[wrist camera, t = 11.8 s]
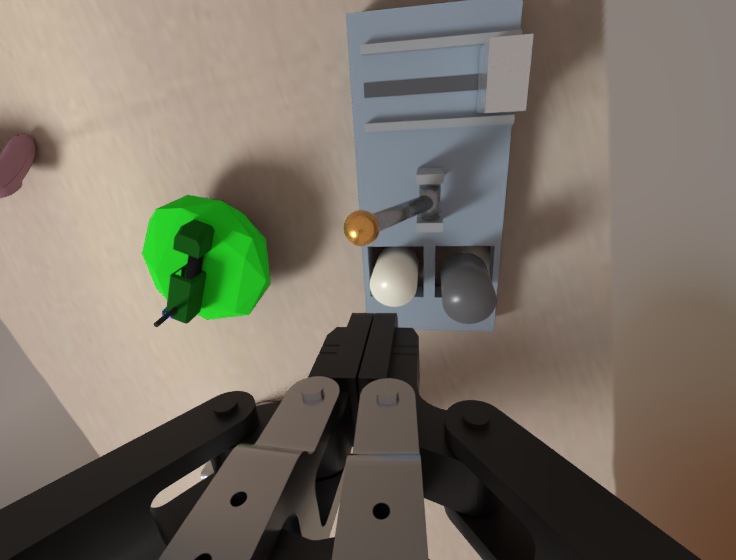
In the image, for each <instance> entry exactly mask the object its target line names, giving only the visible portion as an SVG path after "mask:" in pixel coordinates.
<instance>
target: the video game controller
mask: <svg viewBox="0 0 736 560" xmlns="http://www.w3.org/2000/svg"><path fill="white" fill-rule="evenodd" d="M34 156H35V144H34V140H33V139H32V138H31V137H30V136H28V135H26V134H18V135H16V136H14V137H13V138H12V139H10V140H9V141H8V143H7V144H6V146H5V148H4V149H3V151H2V153H1V154H0V198H3V197H7V196H9V195H12V194H13V193H15V192H16V191H18V190H19V189H20V188H21V186H22V180H23V179H24V177H25V176H26V174H27V173H28V171H29V169H30V167H31V165H32V162H33V160H34Z"/></svg>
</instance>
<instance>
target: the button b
mask: <svg viewBox="0 0 736 560" xmlns="http://www.w3.org/2000/svg"><path fill="white" fill-rule="evenodd" d="M441 289H442V304H443V308H444V310H445V312H446V314H447V315H448V316H449V317H450V318H451V319H453V320H454V321H457V322H459V323H463V324H474V323H478V322H481V321H483V320H485V319H486V318H488V317H489V316H490V315H491V314H492V312H493V311H494V309H495V307H496V303H497V297H496V293H495V290H494V287H493V284H492V281H491V279H490V276H489V273H488V270H487V267H486V265H485V263H484V261H483V260H482V259H481V258H480V257H478V256H476V255H474V254H471V253H458V254H455V255H453V256H451V257H450V258H449V259H447V260H446V261H445V263H444V264H443V266H442V269H441Z"/></svg>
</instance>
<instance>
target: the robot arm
mask: <svg viewBox="0 0 736 560" xmlns="http://www.w3.org/2000/svg"><path fill="white" fill-rule="evenodd" d="M419 377H420V373H419V336H418V335H417V333H416V332H415V330H414V329H413V328H400V327H398V316H397V313H375V314H374V313H352V315H351V317H350V320H349V323H348V325H347V327H337V328H335V329H334V330H333V331H332V332H331V333H329V334H328V335H327V337H326V339H325V341H324V343H323V346H322V348H321V350H320V352H319V354H318V357H317V359H316V361H315V363H314V365H313V367H312V370H311V372H310V374H309V376H308V378H306V379H303V380H300V381H299V382H297V383H295V384H294V385H293V386H292V387H291V388H290V389H289V390H288V392H287V393H286V395H285V397H284V398H283V400H281V401H278V402H262V403H259V404H255V400H254V398H253V396H252V395H250V394H249V393H247V392H243V391H232V392H227V393H224V394H221V395H218V396H216V397H214V398H212V399H210V400H208V401H207V402H205V403H203V404H201V405H199V406H197V407H195V408H193V409H191V410H189V411H187V412H186V413H184V414H182V415H180V416H178V417H176V418H174V419H172V420H170V421H168V422H166V423H165V424H163V425H161V426H159V427H157V428H155V429H153V430H151V431H149V432H147V433H145V434H144V435H142V436H140V437H138V438H136V439H134V440H132V441H130V442H128V443H126V444H124V445H123V446H121V447H119V448H117V449H115V450H113V451H111V452H109V453H107V454H105V455H103V456H101V457H100V458H98V459H96V460H94V461H92V462H90V463H88V464H86V465H84V466H82V467H81V468H79V469H77V470H75V471H73V472H71V473H69V474H67V475H65V476H63V477H62V478H60V479H58V480H56V481H54V482H52V483H50V484H48V485H46V486H44V487H42V488H41V489H38V490H37V491H35V492H33V493H31V494H29V495H27V496H25V497H23V498H21V499H20V500H17V501H16V502H14V503H12V504H10V505H8V506H6V507H4V508H3V509H0V560H430V559H428V548H427V535H426V521H425V508H424V498H426V499H428V500H431V501H433V502H436V503H438V504H440V505H443V506H444V508H445V511H446V514H447V516H448V517H449V519H450V520H451V522H452V523H453V524H454V525H455V526H456V528H457V529H458V530H459V531H460V532H461V534H462V535H463V536H464V537H465V539H466V540H467V541H468V542H469V543H470V545H471V546H472V547H473V548H474V549H475V551H476V552H477V553H478V554H479V555H480V557H481V558H482V559H483V560H701V559H700V558H698V557H697V556H696V555H694V554H693V553H692V552H690V551H689V550H688V549H686V548H685V547H684V546H682V545H681V544H679V543H678V542H677V541H675V540H674V539H673V538H671V537H670V536H669V535H667V534H666V533H665V532H663V531H662V530H661V529H659V528H658V527H657V526H655V525H654V524H652V523H651V522H650V521H648V520H647V519H646V518H644V517H643V516H642V515H640V514H639V513H638V512H636V511H635V510H634V509H632V508H631V507H630V506H628V505H627V504H625V503H624V502H623V501H621V500H620V499H619V498H617V497H616V496H615V495H613V494H612V493H611V492H609V491H608V490H607V489H605V488H604V487H603V486H601V485H600V484H599V483H597V482H596V481H595V480H593V479H592V478H590V477H589V476H588V475H586V474H585V473H584V472H582V471H581V470H580V469H578V468H577V467H576V466H574V465H573V464H572V463H570V462H569V461H568V460H566V459H565V458H564V457H562V456H561V455H559V454H558V453H557V452H555V451H554V450H553V449H551V448H550V447H549V446H547V445H546V444H545V443H543V442H542V441H541V440H539V439H538V438H537V437H535V436H534V435H532V434H531V433H530V432H528V431H527V430H526V429H524V428H523V427H522V426H520V425H519V424H518V423H516V422H515V421H514V420H512V419H511V418H510V417H508V416H507V415H506V414H504V413H503V412H501V411H500V410H499V409H497V408H496V407H494V406H492V405H490V404H488V403H485V402H482V401H476V400H466V401H461V402H458V403H455V404H453V405H452V406H451V407H450V408H448V410H443V409H440V408H437V407H434V406H432V405H430V404H429V403H427V402H426V401H424V400H423V399H422V398H421V396H420V395H419ZM352 447H353V454H350V453H351V448H352ZM206 462H207V463H206ZM205 463H206V465H205V467H204V468H203V470H202V472H201V479H202V481H200V482H199V483H197V484H196V485H194V486H193V487H191V488H189V489H188V490H186V491H185V492H183V493H182V494H180V495H179V496H177V497H176V498H174V499H173V500H171V501H169V502H168V503H166V504H165V505H163V506H160V507H157V508H152V507H151V503H152V501H153V499H154V498H155V497H156V495H157V494H158V493H159V492H161V491H162V490H163V489H165V488H166V487H168V486H170V485H171V484H173V483H174V482H176V481H178V480H179V479H181V478H182V477H184V476H186V475H187V474H189V473H190V472H192V471H194V470H195V469H197V468H198V467H200V466H202V465H203V464H205ZM339 503H340V506H339ZM338 507H339V513H338V520H337V526H336V533H335V537H333V538H329V536H330V533H331V530H332V526H333V523H334V520H335V516H336V513H337V510H338Z"/></svg>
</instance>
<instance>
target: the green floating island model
mask: <svg viewBox="0 0 736 560" xmlns="http://www.w3.org/2000/svg"><path fill="white" fill-rule="evenodd" d="M142 255H143V257H144V259H145V262H146V264H147V267H148V269H149V272H150V274H151V276H152V279H153V281H154V284H155V286H156V289H157V290H158V291H159V292H160V293H161V294H162V295H163V296H164V297H165V298H166V299H167V307H166V308H165V309H164V310H163V311H162V315H163V316H162V317H161V318H160V319H159V320H158V321H156V322H155V323H154V326H155V327H158V326H159V325H161V324H162V323H163V322H164V321H165V320H166V319H168V318H172V319H175V320H178V321H180V322H183V323H189V322H190V321H191V320H192V319H193V318H194V317H195V316H196V315H199V316H201V317H203V318H205V319H207V320H209V319H218V318H226V317H235V316H244V315H249V314H250V313H251V311H252V310H253V308H254V307H255V305H256V304H257V303H258V301H259V300H260V298H261V297H262V296H263V294H264V293H265V291H266V290H267V288H268V287H269V286H270V284H271V283H270V273H269V262H268V252H267V241H266V238H265V237H264V236H263V235H262V234H261V233H260V232H259V230H258V229H257V228H256V227H255V226H254V225H253V224H252V223H251V222H250V220H249V219H248V218H247V217H246V216H245V215H244V214H243V213H241V212H240V211H238V210H236V209H235V208H233V207H231V206H229V205H228V204H226V203H224V202H223V201H219V200H213V199H208V198H202V197H196V196H191V195H186V196H184V197H182V198H180V199H178V200H175V201H173V202H171V203H169V204H166V205H164V206H162V207H160V208H158V209H156V210H155V212H154V213H153V215H152V217H151V219H150V220H149V224H148V229H147V233H146V238H145V243H144V247H143V252H142Z"/></svg>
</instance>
